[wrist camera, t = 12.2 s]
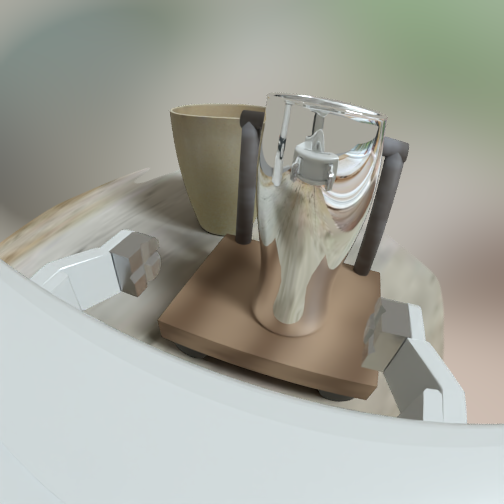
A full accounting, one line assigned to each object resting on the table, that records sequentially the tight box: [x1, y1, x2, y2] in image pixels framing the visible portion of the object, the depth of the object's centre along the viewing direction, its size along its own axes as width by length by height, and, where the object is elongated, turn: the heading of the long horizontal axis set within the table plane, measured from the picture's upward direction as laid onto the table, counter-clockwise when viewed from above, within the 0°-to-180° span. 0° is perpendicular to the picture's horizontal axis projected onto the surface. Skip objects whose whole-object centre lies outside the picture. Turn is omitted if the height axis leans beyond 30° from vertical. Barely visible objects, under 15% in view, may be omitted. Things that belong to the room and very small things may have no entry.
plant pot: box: [170, 104, 266, 236], centre depth 37 cm, size 15×15×16 cm
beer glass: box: [251, 93, 388, 337], centre depth 18 cm, size 7×7×15 cm
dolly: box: [158, 110, 409, 401], centre depth 21 cm, size 16×13×17 cm
